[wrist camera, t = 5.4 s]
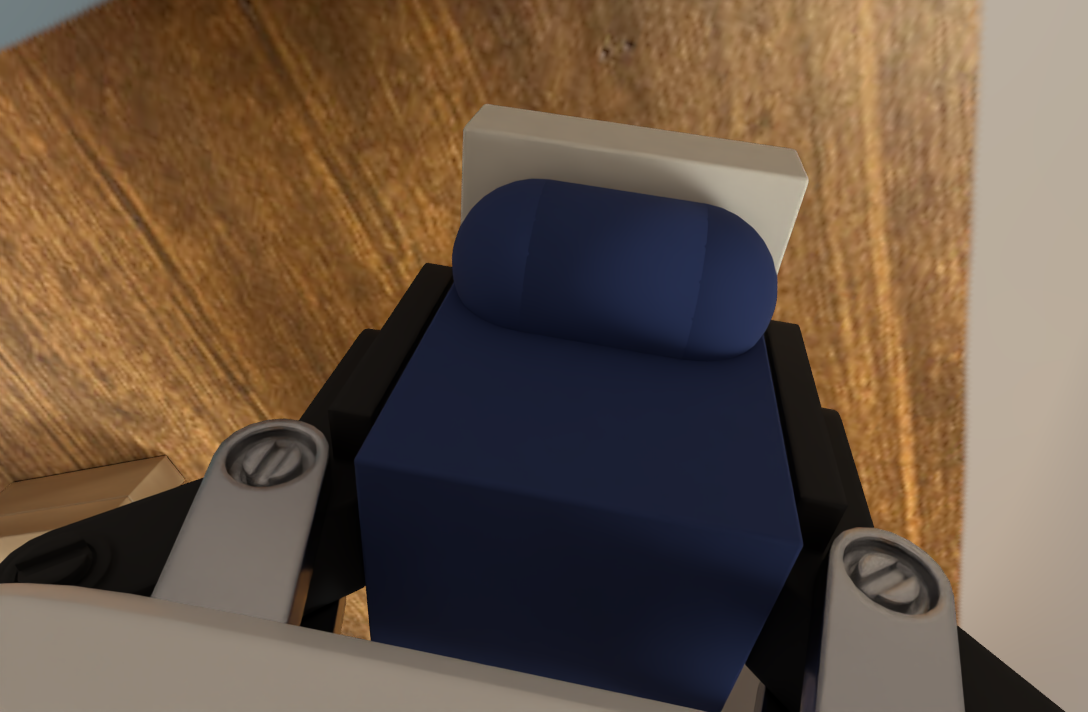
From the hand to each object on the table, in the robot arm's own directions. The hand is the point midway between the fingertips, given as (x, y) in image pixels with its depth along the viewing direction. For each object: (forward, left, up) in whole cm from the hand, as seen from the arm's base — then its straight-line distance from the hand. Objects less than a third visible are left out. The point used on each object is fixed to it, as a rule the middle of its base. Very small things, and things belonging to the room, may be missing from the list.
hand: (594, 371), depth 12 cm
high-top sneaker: (0, 0, -1) cm, 1 cm away
